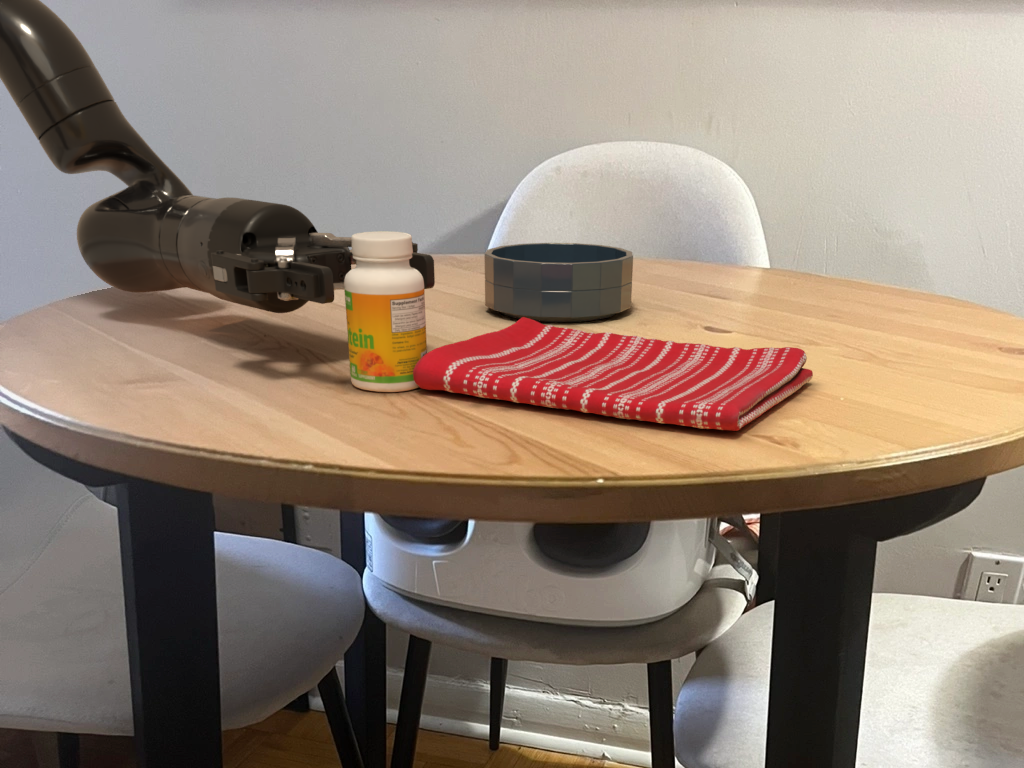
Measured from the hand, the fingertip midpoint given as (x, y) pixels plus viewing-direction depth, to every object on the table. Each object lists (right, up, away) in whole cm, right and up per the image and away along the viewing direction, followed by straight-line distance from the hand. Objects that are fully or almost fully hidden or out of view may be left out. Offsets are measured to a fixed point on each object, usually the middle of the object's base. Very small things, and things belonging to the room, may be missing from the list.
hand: (381, 279), depth 77 cm
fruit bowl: (+12, +8, +28) cm, 32 cm away
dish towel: (+16, -7, +3) cm, 17 cm away
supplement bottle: (0, -6, +4) cm, 7 cm away
